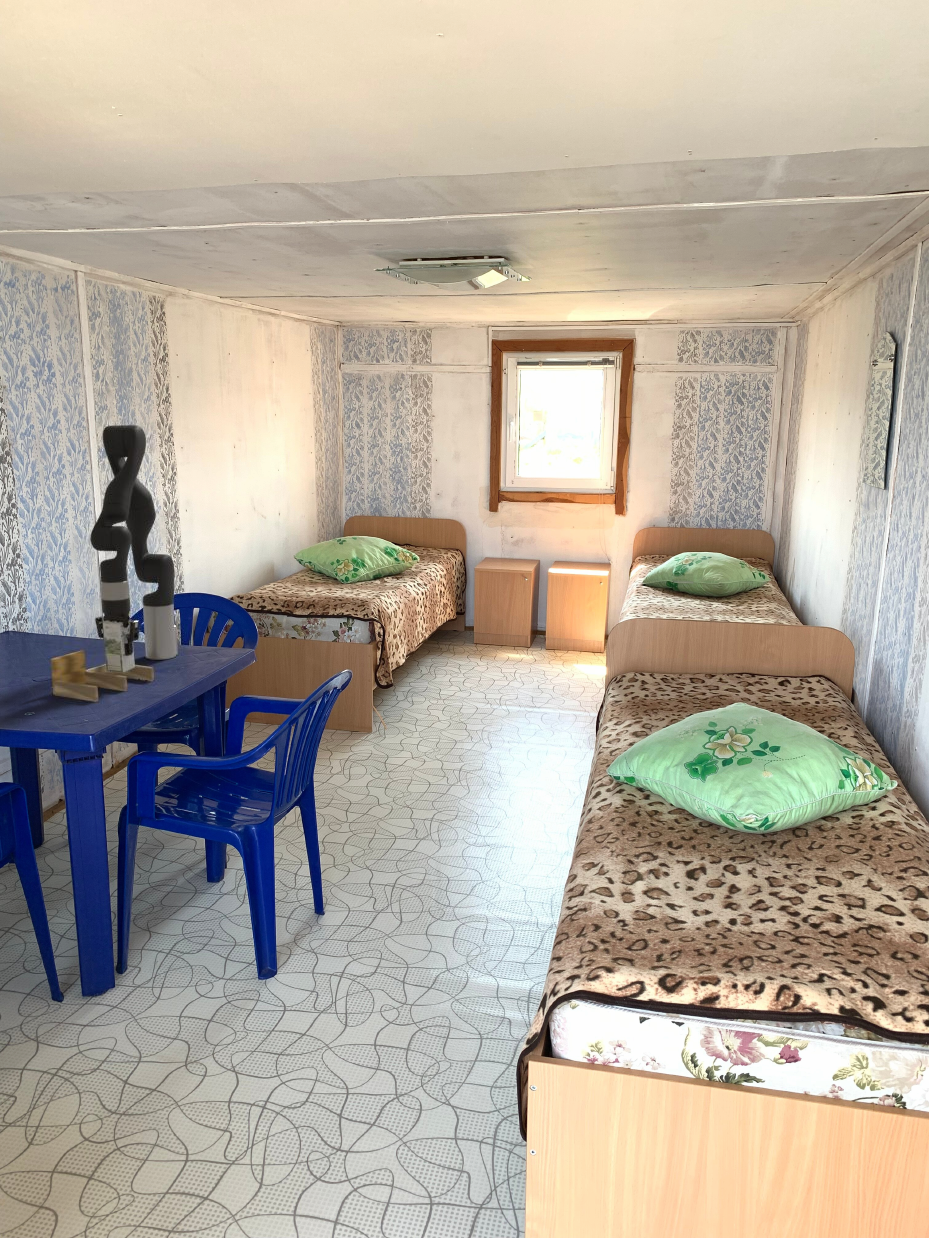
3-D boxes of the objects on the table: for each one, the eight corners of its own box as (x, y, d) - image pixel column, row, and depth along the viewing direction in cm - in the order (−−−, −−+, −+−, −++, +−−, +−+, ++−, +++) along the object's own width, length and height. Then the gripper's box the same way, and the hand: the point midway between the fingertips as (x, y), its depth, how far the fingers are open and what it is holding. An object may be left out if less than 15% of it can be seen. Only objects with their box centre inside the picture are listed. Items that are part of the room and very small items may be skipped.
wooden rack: (112, 674, 264) (110, 642, 262) (154, 680, 258) (152, 647, 256) (51, 694, 243) (49, 659, 241) (95, 701, 237) (93, 665, 235)
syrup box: (135, 667, 257) (132, 618, 254) (122, 673, 251) (119, 623, 248) (118, 665, 258) (115, 617, 255) (105, 671, 253) (101, 621, 250)
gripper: (145, 596, 251) (148, 653, 255) (104, 592, 256) (109, 648, 260) (126, 601, 244) (130, 660, 248) (85, 596, 249) (90, 654, 253)
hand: (119, 653), depth 254 cm, fingers closed on syrup box, 6 cm apart
